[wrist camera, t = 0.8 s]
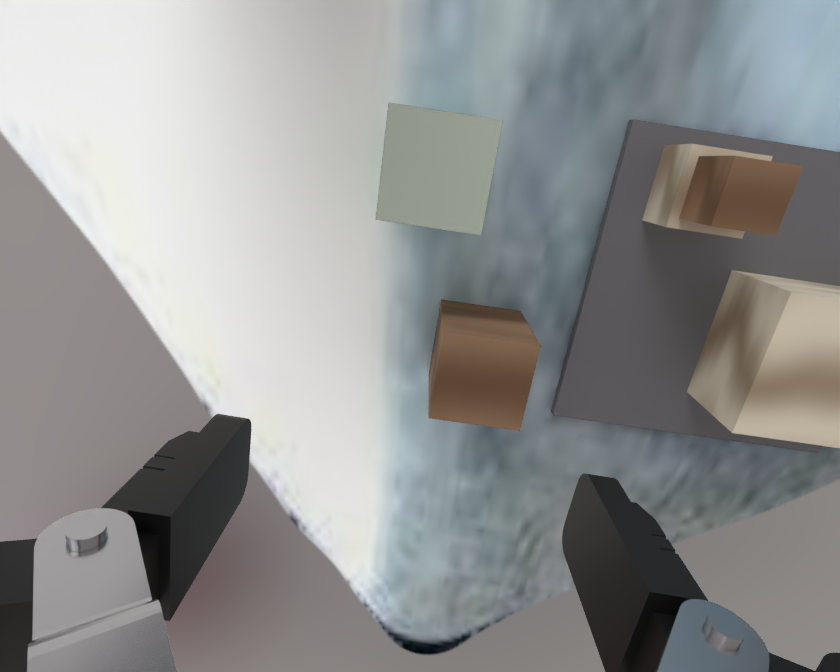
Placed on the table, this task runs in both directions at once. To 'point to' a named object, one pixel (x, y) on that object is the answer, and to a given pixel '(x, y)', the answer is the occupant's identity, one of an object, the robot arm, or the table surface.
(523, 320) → the walnut block
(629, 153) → the charcoal mat
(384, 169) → the sage block
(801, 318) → the birch base block
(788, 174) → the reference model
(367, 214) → the table surface
